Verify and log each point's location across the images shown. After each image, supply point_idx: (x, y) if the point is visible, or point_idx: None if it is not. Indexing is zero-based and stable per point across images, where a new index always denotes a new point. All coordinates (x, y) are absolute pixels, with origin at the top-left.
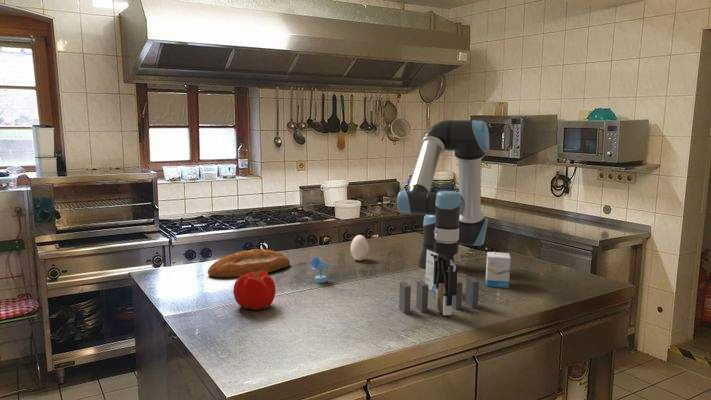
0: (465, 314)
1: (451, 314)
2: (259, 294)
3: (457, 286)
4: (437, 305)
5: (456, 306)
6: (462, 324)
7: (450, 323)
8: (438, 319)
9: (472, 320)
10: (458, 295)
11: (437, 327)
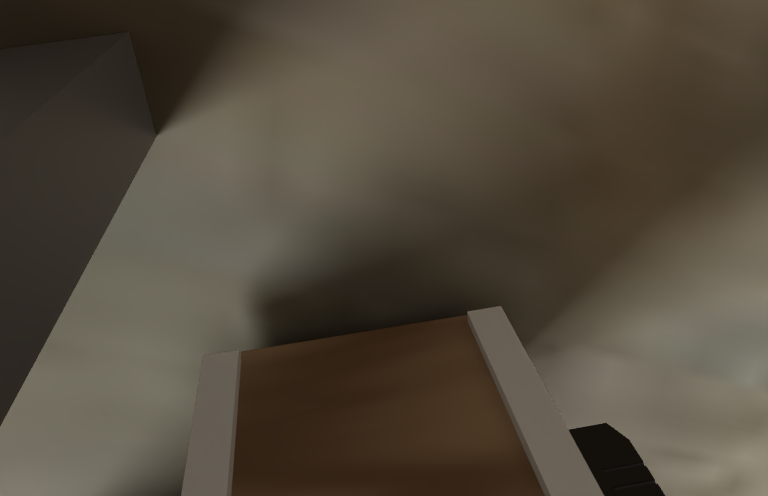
0: (384, 41)
1: (501, 311)
2: None
3: (16, 355)
4: None
5: (142, 141)
6: (733, 208)
7: (659, 337)
8: None
9: (645, 16)
10: (80, 188)
11: (719, 479)
